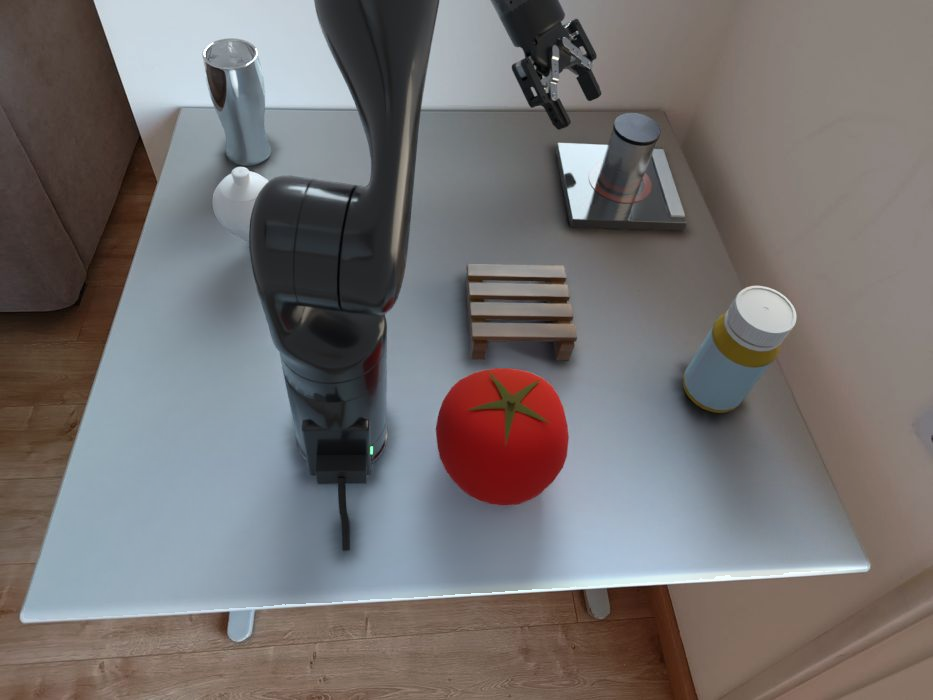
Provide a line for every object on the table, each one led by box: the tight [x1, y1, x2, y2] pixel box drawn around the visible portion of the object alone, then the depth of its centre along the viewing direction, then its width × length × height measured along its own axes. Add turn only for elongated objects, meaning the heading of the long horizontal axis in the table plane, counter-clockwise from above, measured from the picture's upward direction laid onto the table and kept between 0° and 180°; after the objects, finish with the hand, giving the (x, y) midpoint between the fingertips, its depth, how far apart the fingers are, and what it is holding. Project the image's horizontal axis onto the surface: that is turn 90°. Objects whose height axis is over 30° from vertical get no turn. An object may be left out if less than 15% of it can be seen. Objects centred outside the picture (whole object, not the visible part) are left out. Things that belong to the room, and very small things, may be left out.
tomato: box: [435, 367, 570, 507], centre depth 70 cm, size 13×14×12 cm
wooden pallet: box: [465, 263, 578, 361], centre depth 85 cm, size 12×12×4 cm
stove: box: [555, 142, 688, 231], centre depth 101 cm, size 16×16×2 cm
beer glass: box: [201, 38, 272, 167], centre depth 93 cm, size 7×7×15 cm
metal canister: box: [598, 112, 661, 195], centre depth 97 cm, size 6×6×9 cm
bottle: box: [682, 285, 798, 414], centre depth 77 cm, size 7×7×15 cm
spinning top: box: [211, 166, 270, 243], centre depth 85 cm, size 8×8×12 cm
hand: (580, 112), depth 97 cm, fingers open, 8 cm apart
